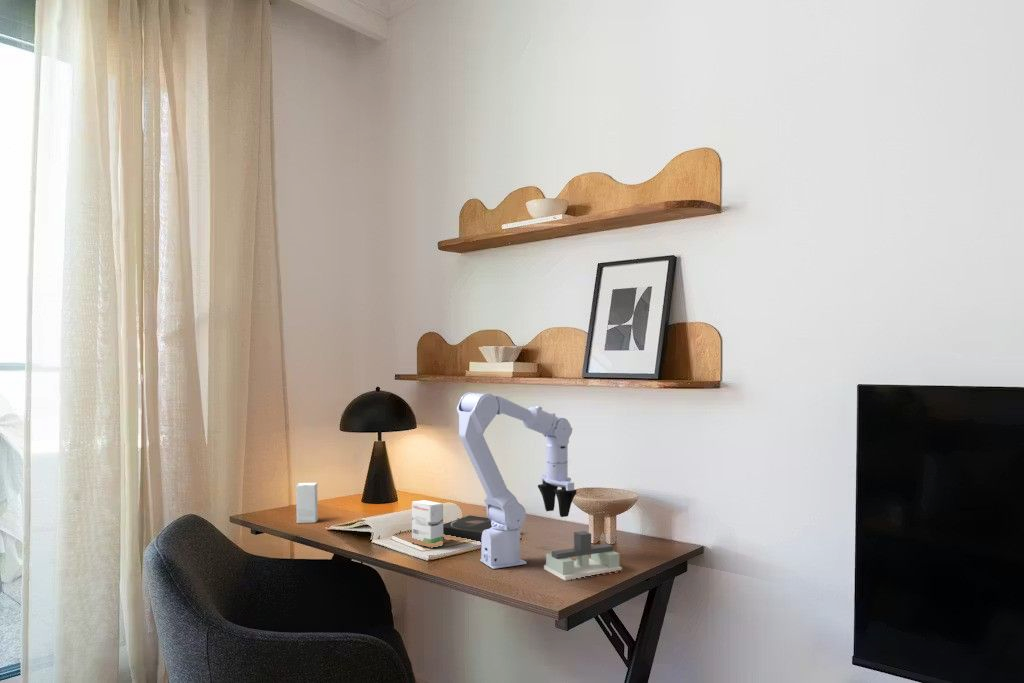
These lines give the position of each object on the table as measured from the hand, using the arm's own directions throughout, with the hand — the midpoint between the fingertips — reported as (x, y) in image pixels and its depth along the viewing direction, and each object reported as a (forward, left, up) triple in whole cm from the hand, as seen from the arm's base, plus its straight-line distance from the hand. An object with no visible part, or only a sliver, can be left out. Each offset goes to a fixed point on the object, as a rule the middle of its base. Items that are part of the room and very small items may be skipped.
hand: (556, 513), depth 183 cm
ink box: (-28, +23, -11) cm, 38 cm away
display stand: (-2, -16, -10) cm, 19 cm away
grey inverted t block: (-2, -16, -6) cm, 17 cm away
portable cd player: (-12, +26, -11) cm, 31 cm away
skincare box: (-53, +66, -11) cm, 85 cm away
